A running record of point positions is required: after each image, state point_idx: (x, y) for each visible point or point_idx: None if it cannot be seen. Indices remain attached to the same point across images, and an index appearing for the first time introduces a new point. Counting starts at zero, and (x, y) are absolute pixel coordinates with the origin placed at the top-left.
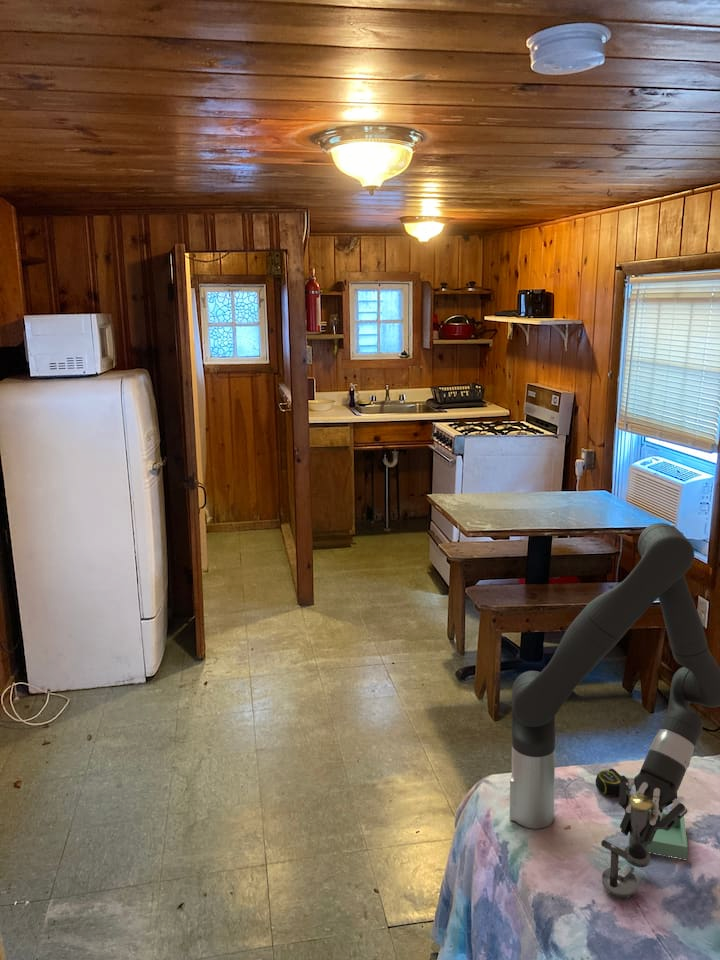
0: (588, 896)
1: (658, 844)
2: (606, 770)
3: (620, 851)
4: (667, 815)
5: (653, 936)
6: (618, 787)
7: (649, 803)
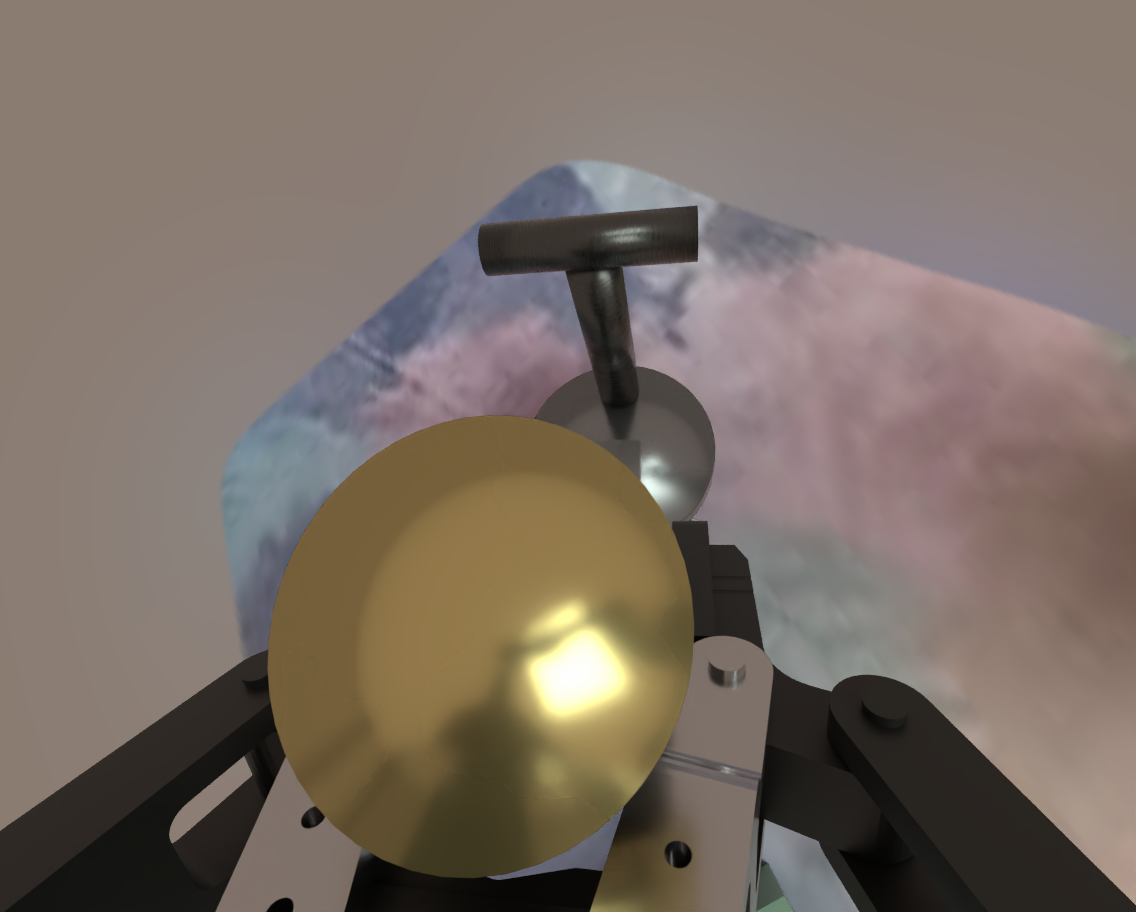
0: (708, 347)
1: None
2: None
3: (530, 220)
4: (155, 782)
5: (404, 363)
6: None
7: (303, 636)
